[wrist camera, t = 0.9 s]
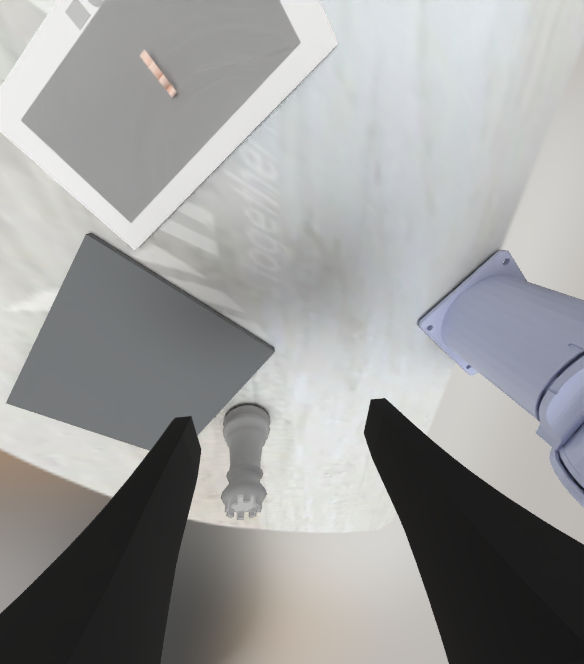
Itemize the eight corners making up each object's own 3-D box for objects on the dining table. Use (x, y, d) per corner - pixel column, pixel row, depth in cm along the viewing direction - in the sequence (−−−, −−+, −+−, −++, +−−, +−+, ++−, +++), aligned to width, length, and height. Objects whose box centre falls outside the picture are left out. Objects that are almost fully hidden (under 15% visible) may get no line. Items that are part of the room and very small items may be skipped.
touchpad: (332, 54, 13) (345, 30, 11) (142, 247, 16) (126, 254, 14) (217, -194, 9) (207, -295, 7) (2, 121, 12) (-43, 108, 10)
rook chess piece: (259, 438, 26) (260, 529, 19) (217, 428, 24) (201, 523, 17) (277, 409, 24) (286, 497, 17) (233, 397, 22) (223, 488, 16)
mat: (274, 348, 20) (274, 351, 20) (177, 454, 25) (175, 458, 25) (91, 233, 15) (86, 234, 14) (11, 398, 20) (5, 403, 19)
